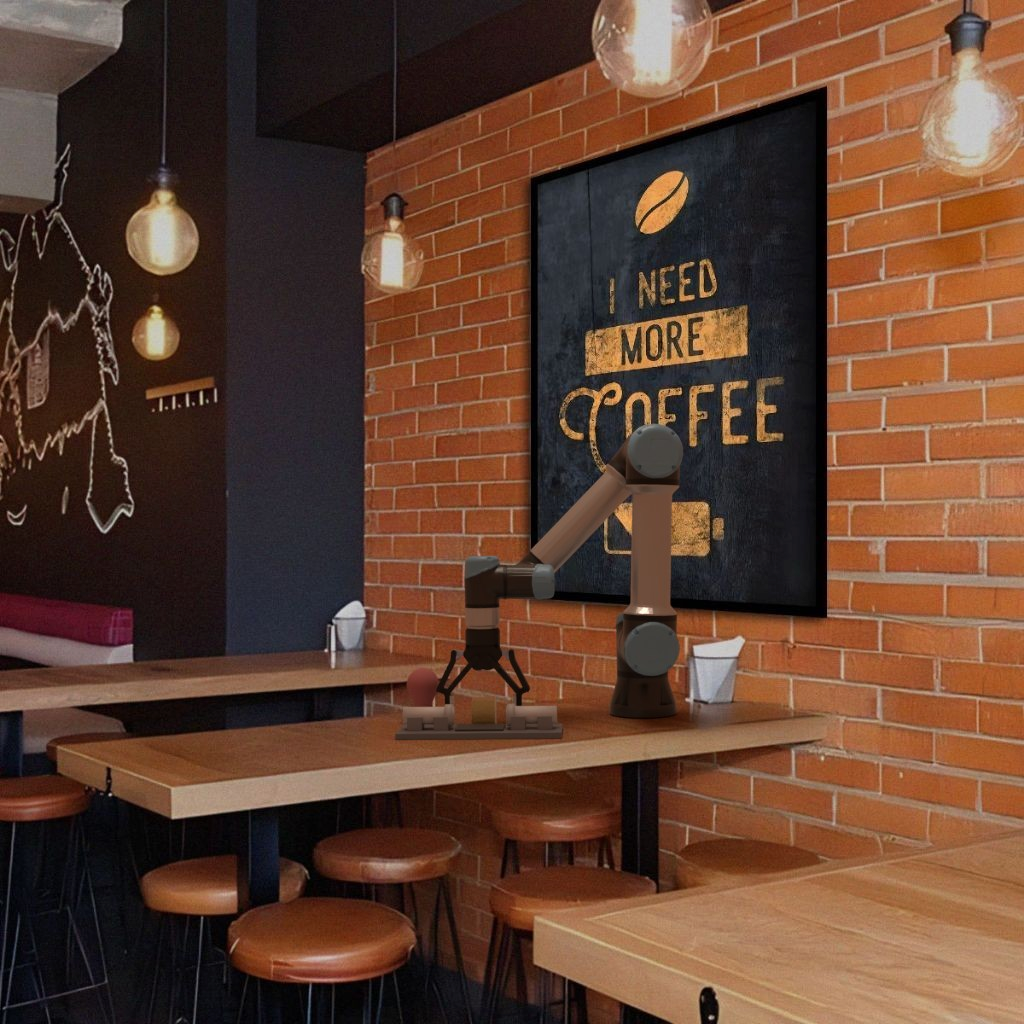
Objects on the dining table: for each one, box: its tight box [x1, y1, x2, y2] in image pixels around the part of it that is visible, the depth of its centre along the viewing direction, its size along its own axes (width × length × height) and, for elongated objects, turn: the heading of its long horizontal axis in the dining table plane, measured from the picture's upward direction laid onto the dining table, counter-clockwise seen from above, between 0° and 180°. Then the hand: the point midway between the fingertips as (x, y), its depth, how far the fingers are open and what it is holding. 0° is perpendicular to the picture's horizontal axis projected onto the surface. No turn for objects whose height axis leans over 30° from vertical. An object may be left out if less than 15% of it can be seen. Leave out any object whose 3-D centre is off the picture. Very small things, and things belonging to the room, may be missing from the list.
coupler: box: [470, 696, 498, 724], centre depth 289 cm, size 5×6×6 cm
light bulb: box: [406, 667, 440, 707], centre depth 296 cm, size 7×7×12 cm
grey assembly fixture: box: [394, 703, 563, 741], centre depth 278 cm, size 34×12×6 cm, turn 87°
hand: (483, 725), depth 289 cm, fingers open, 13 cm apart
